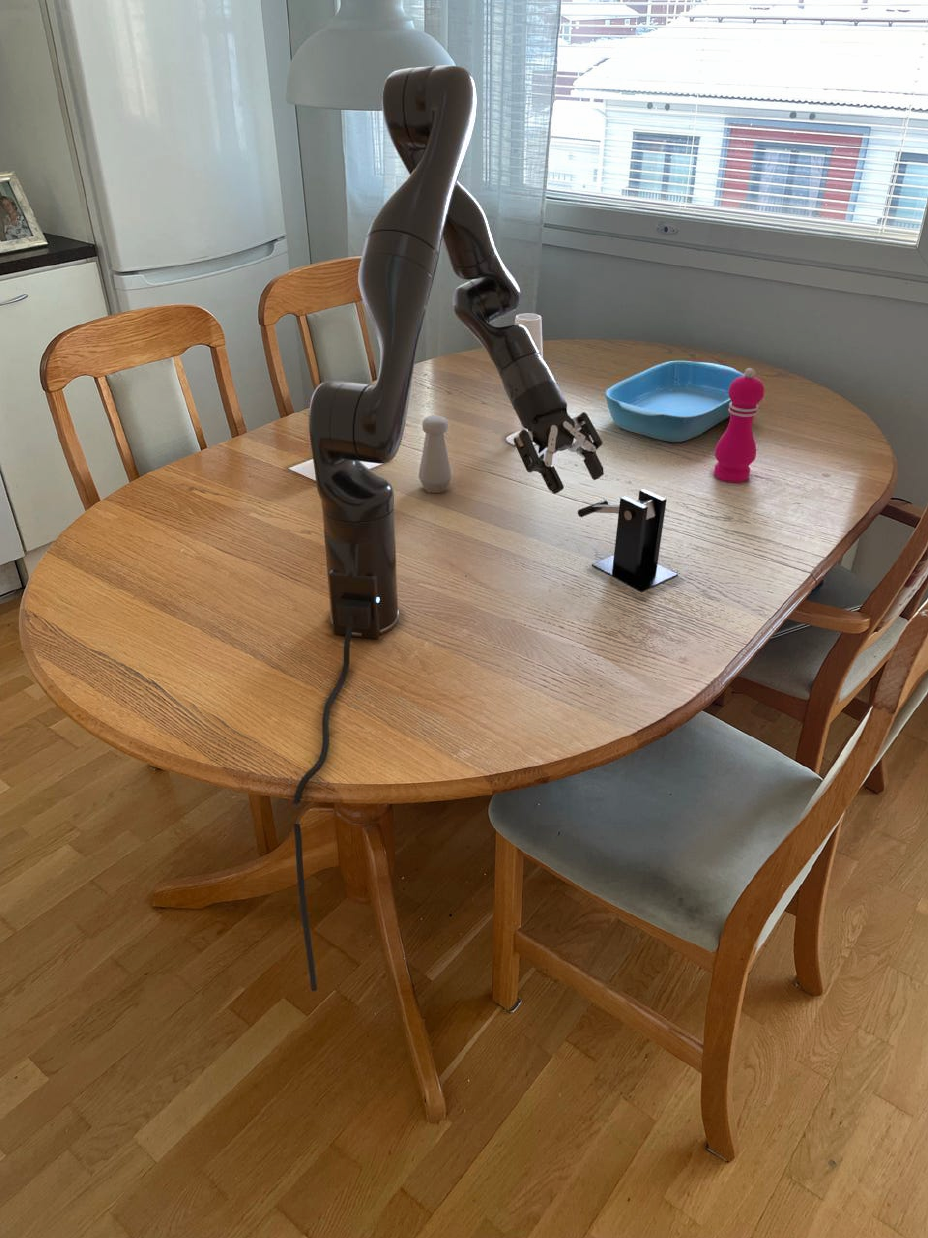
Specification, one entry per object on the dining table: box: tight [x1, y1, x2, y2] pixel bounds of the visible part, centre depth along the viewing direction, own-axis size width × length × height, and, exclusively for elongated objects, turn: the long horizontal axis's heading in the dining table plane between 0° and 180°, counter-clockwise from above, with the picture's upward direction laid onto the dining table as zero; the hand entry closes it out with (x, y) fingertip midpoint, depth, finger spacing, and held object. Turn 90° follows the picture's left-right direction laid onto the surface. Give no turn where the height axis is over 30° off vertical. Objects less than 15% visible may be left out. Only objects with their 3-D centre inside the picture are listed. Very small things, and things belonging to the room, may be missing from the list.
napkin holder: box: [287, 458, 382, 482], centre depth 170 cm, size 15×11×6 cm
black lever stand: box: [591, 488, 679, 593], centre depth 135 cm, size 10×8×13 cm
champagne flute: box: [506, 313, 544, 446], centre depth 177 cm, size 7×7×24 cm
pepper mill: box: [713, 367, 765, 483], centre depth 164 cm, size 7×7×20 cm
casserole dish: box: [604, 360, 745, 443], centre depth 192 cm, size 37×22×7 cm, turn 140°
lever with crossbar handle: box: [577, 499, 655, 520], centre depth 136 cm, size 12×6×2 cm, turn 39°
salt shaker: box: [418, 415, 453, 494], centre depth 160 cm, size 6×6×13 cm
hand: (579, 484), depth 141 cm, fingers open, 8 cm apart
